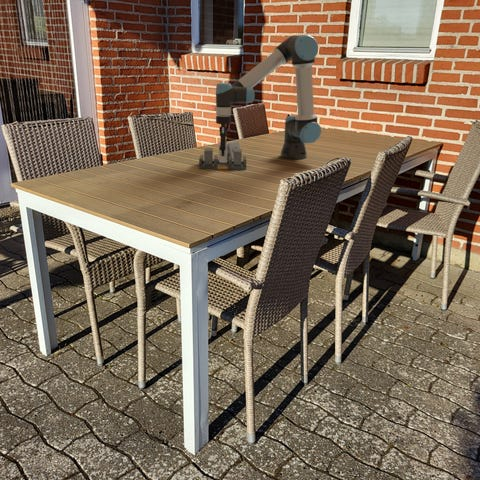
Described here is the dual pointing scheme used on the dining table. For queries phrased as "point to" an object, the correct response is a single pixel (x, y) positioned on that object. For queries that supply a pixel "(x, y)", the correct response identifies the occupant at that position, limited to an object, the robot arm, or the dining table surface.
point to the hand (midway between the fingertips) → (223, 160)
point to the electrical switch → (232, 149)
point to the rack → (208, 163)
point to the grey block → (226, 153)
